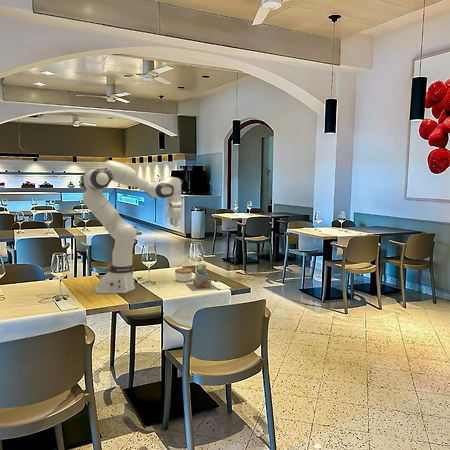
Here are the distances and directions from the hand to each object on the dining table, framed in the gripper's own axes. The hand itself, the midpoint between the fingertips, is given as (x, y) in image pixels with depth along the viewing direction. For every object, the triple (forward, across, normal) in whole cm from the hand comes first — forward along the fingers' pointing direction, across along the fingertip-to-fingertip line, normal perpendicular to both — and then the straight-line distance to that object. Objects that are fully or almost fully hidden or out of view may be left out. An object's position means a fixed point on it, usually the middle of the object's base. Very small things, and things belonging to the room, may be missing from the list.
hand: (173, 225), depth 265 cm
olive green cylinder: (+26, +19, +13) cm, 35 cm away
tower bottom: (+34, +19, +13) cm, 41 cm away
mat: (+35, +19, +13) cm, 42 cm away
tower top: (+30, +19, +13) cm, 38 cm away
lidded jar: (+35, +3, +6) cm, 36 cm away
